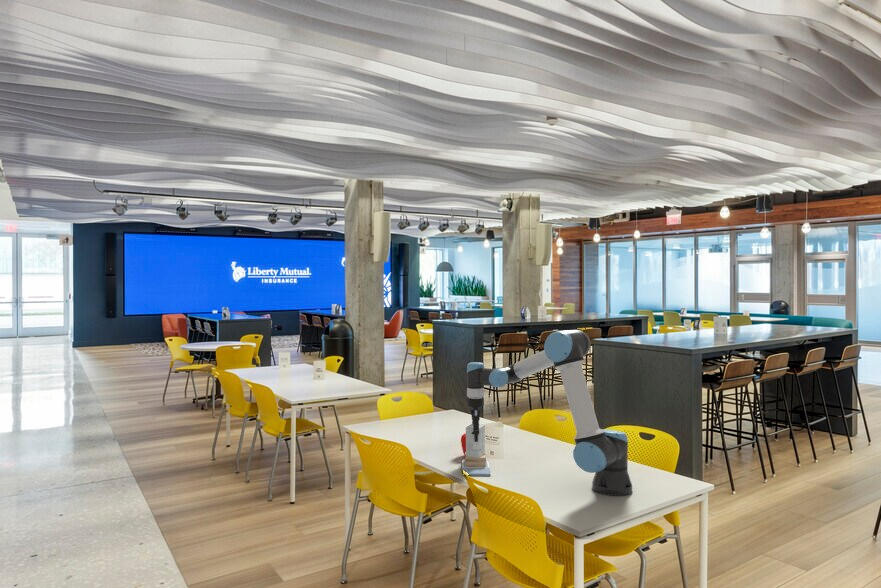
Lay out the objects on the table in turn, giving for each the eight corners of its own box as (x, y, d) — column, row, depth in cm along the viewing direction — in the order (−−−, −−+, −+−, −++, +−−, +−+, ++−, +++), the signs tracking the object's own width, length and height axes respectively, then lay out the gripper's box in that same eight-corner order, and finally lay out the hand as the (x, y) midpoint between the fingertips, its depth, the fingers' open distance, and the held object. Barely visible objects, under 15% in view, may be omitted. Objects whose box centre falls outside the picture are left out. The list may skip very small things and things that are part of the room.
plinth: (485, 467, 256) (485, 457, 256) (465, 466, 256) (465, 457, 256) (485, 461, 265) (485, 452, 265) (465, 460, 265) (465, 452, 265)
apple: (483, 455, 278) (483, 432, 278) (473, 459, 271) (473, 436, 271) (467, 452, 283) (467, 430, 283) (457, 456, 276) (457, 433, 276)
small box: (471, 451, 265) (471, 423, 265) (485, 453, 263) (485, 424, 263) (465, 456, 258) (465, 427, 258) (479, 458, 256) (479, 428, 256)
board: (490, 476, 246) (490, 473, 246) (462, 475, 247) (462, 473, 247) (488, 462, 266) (488, 459, 266) (461, 462, 267) (461, 459, 267)
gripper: (485, 402, 248) (485, 452, 248) (482, 392, 273) (482, 437, 273) (467, 402, 248) (467, 452, 248) (466, 392, 273) (466, 437, 273)
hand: (475, 444), depth 261 cm, fingers open, 13 cm apart
